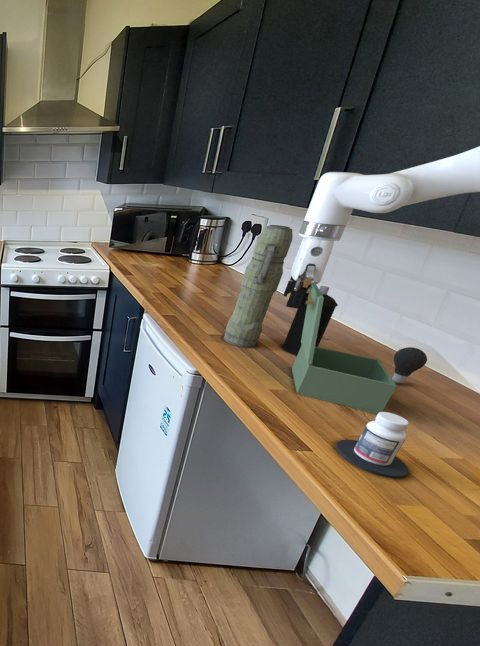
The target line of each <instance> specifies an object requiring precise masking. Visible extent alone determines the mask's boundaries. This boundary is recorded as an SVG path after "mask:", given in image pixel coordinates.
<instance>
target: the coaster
mask: <svg viewBox="0 0 480 646" xmlns="http://www.w3.org/2000/svg"><path fill="white" fill-rule="evenodd" d="M357 442H358V440H356V439H355V440H354V439H342V440H339V441H338V442H337V443H336V445H335V449H336V451H337V453H338V454H339V455H340V456H341V457H342V458H343V459H344V460H345V461H347V462H348V463H350V464H351V465H353V466H355V467H357V468H359V469H361V470H363V471H364V472H365V471H366V472H368V473H370V474H373V475H376V476H379V477H383V478H388V479H404V478H406V477H407V476H408V474H409V467H408V466H407V464H405V462H403V461H402V460H401V459H400V458H399V457H397V455H396V456H395V458H394V460H393V461H392V463H391V464H390V465H386V466H383V465H377V464H374V463H371V462H368V461H366V460H364V459H363V458H361V457H359V456H358V455H357V454H356V453H355V451H354V448H355V446H356V444H357Z"/></svg>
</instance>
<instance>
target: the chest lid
mask: <svg viewBox="0 0 480 646" xmlns="http://www.w3.org/2000/svg"><path fill="white" fill-rule="evenodd" d="M319 289H320V288H319V287H318V284H315V283H314V281H313V282H312V285H311V289H310V292H309V296H308V298H307V299H308V301H306V303H305V304H307V309H306V315H305V321H304V327H303V333H302V339H301V344H302V347H303V350H304V354H305V357H306V360H307V364H312V361H313V356H314V350H315V344H316V339H317V333H318V328H319V322H320V317H321V311H322V306H323V300H324V297H323V296H322V294H321V292H320V290H319ZM290 294H291V293H289V294H287V297H286V299H287V301H288V299H289V296H290Z"/></svg>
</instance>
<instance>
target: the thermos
mask: <svg viewBox="0 0 480 646" xmlns="http://www.w3.org/2000/svg"><path fill="white" fill-rule="evenodd" d="M293 237H294V235H293V229H292V228H290V226H287V225H279V224H269V225H266V226H265V227H264V228H263V230H262V231H261V233H260V234H259V236H258V239H257V242H256V245H255V248H254V251H253V256H252V257H251V260H250V261H249V262H248V264H247V265H246V267H245V270H244V272H243V273H244V274H243V276H242V279H241V282H240V286H241V288H240V291H239V294H238V297H237V300H236V303H235V306H234V310H233V312H232V315H231V317H230V318H229V319H228V321H227V323H226V327H225V330H224V332H225V334H224V335H223V340H224V341H225V342H226V343H228V344H230V345H233V346H236V347H240V348H248V349H249V348H250V349H251V348H255V347H256V346H257V342H258V340H259V339H260V337H261V334H262V331H263V322H264V321H265V320H264V319H265V317H266V314H267V312H268V309H269V306H270V303H271V301H272V298H273V295H274V294H275V293H276V292H277V291H278V288H279V285H280V282H281V280H282V276H283V274H284V264H285V259H286V257H287V255H288V253H289V250H290V247H291V244H292V242H293Z"/></svg>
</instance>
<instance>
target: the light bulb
mask: <svg viewBox="0 0 480 646" xmlns="http://www.w3.org/2000/svg"><path fill="white" fill-rule="evenodd" d="M427 362H428V356H427V354H426V353H425V352H424V351H423V350H422V349H420V348H417V347H411V346H409V347H403V348H400V349H398V350H397V351H396V352H395V353H394V355H393V363H394V373H393V374H392V376H391V378H392V380H393V381H394V383H395V384H396V385H399V384H405V383H406V381H407V380H408V378H409V377H410V376H411V375H412V374H413V373H415V372H416V371H418V370H420V369H422V368H423V367H424V366H425V365H426V364H427Z"/></svg>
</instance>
